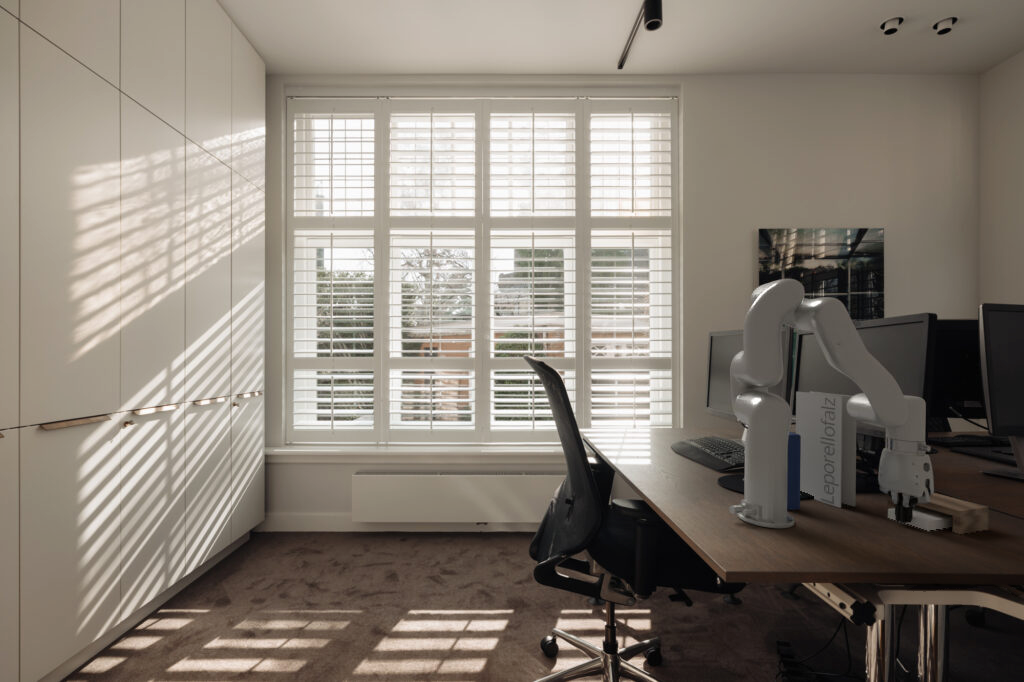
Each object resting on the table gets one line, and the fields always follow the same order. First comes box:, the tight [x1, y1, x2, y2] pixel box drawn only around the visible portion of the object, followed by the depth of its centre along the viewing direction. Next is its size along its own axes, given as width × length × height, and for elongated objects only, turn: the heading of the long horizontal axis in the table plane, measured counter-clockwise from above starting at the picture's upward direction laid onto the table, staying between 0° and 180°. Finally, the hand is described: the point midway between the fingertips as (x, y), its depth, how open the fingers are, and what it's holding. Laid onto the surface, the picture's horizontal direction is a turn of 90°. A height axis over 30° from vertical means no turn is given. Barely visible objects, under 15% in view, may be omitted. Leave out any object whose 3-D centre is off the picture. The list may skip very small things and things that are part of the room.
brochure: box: [795, 390, 857, 509], centre depth 139 cm, size 14×6×30 cm, turn 18°
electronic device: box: [787, 431, 801, 511], centre depth 133 cm, size 10×5×20 cm, turn 9°
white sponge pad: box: [887, 505, 953, 532], centre depth 122 cm, size 14×9×2 cm, turn 109°
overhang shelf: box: [887, 492, 990, 535], centre depth 123 cm, size 10×16×6 cm, turn 19°
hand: (903, 521), depth 119 cm, fingers closed
